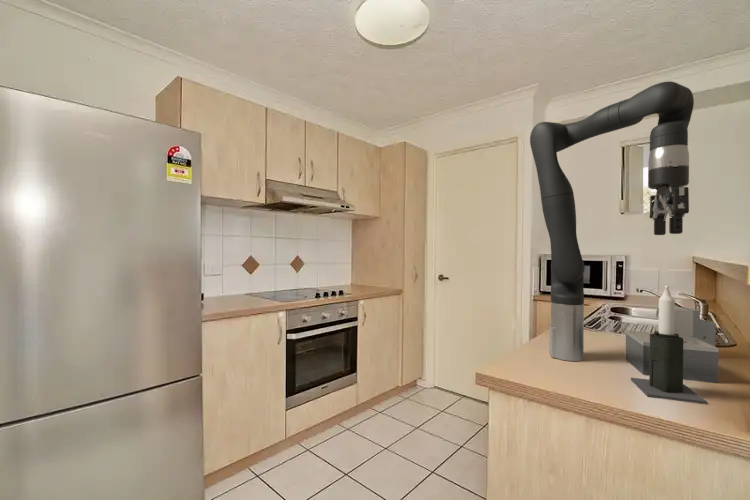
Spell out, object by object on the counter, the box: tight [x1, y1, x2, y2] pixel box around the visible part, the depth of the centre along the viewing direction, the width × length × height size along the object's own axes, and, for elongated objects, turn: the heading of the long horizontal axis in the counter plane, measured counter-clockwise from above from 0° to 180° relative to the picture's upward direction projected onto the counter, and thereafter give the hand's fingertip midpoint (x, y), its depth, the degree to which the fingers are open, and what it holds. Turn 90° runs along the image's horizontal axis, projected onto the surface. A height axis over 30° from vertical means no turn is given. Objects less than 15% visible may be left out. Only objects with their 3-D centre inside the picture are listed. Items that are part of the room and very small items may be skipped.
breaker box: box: [625, 330, 719, 384], centre depth 98 cm, size 16×14×9 cm
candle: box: [648, 285, 684, 393], centre depth 83 cm, size 5×5×25 cm
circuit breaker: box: [655, 305, 718, 347], centre depth 113 cm, size 8×14×15 cm, turn 78°
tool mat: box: [630, 377, 708, 405], centre depth 83 cm, size 11×11×1 cm
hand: (667, 234), depth 83 cm, fingers open, 8 cm apart
